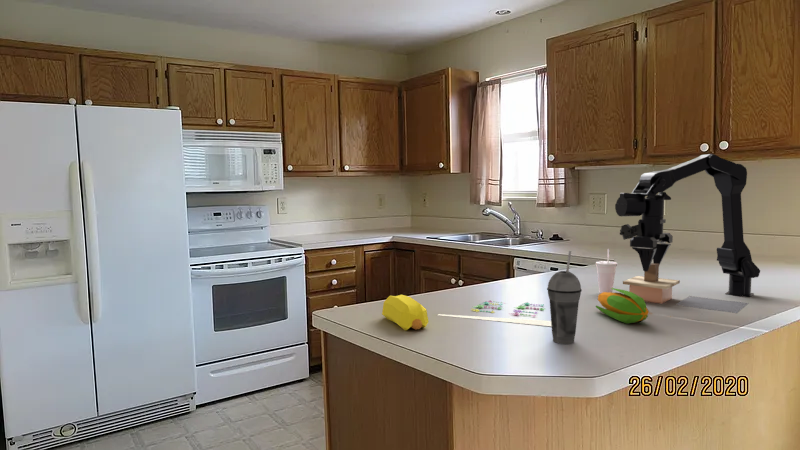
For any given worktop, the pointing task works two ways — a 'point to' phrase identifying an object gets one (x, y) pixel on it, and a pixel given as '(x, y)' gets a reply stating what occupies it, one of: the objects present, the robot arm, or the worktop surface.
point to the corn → (623, 306)
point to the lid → (652, 279)
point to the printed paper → (516, 320)
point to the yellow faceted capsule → (405, 312)
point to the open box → (652, 293)
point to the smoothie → (606, 274)
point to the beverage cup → (564, 304)
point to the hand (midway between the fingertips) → (651, 269)
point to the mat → (712, 304)
